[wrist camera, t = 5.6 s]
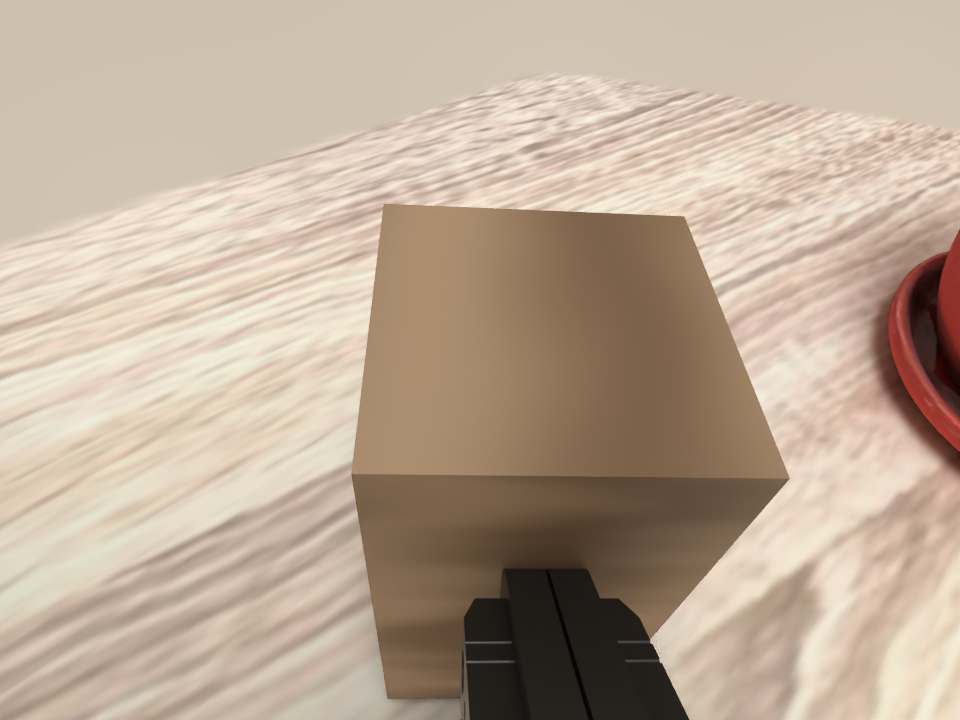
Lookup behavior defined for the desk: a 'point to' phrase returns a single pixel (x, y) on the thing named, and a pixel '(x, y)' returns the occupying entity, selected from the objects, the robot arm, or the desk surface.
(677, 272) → the walnut block
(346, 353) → the desk surface
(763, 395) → the desk surface
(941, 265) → the plant pot
